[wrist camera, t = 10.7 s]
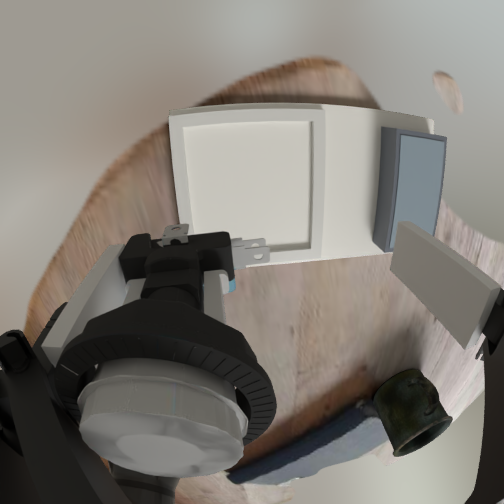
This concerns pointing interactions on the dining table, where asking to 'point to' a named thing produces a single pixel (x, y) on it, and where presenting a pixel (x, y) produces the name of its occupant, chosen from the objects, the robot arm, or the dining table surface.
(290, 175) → the board
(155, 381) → the push button
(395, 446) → the mug
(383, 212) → the blue-grey rectangular block
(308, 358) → the dining table surface
